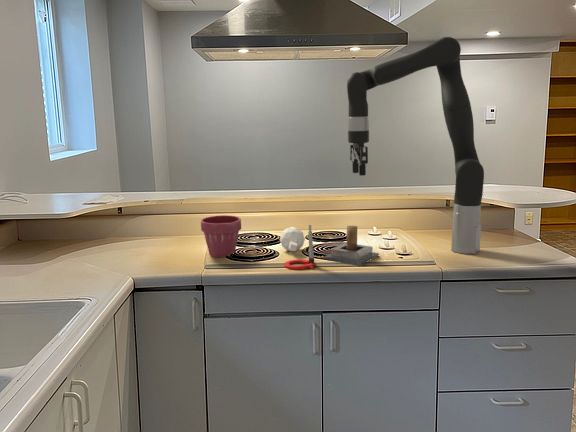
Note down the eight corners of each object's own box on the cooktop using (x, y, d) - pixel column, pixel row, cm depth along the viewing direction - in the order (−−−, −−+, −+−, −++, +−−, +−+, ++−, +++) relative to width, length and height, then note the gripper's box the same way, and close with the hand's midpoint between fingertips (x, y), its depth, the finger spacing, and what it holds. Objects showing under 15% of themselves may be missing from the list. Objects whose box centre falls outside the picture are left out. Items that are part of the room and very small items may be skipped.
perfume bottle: (276, 242, 210) (277, 255, 199) (284, 220, 207) (285, 231, 196) (299, 248, 211) (301, 261, 200) (306, 226, 209) (309, 238, 197)
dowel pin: (358, 257, 197) (359, 226, 195) (353, 259, 194) (354, 228, 192) (349, 255, 199) (349, 225, 197) (344, 258, 196) (345, 227, 194)
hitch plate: (378, 256, 198) (379, 246, 198) (360, 265, 187) (360, 255, 186) (343, 250, 206) (343, 240, 205) (324, 259, 195) (324, 249, 194)
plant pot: (193, 254, 202) (192, 219, 199) (224, 246, 212) (223, 213, 209) (218, 262, 192) (217, 225, 190) (250, 253, 202) (249, 218, 199)
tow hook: (283, 271, 183) (314, 270, 183) (281, 229, 181) (312, 228, 180) (285, 263, 192) (314, 262, 192) (282, 223, 189) (312, 222, 189)
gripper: (374, 129, 198) (374, 175, 201) (362, 128, 212) (363, 171, 215) (353, 130, 197) (354, 177, 200) (343, 129, 211) (343, 172, 214)
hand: (358, 174), depth 207 cm, fingers open, 8 cm apart
